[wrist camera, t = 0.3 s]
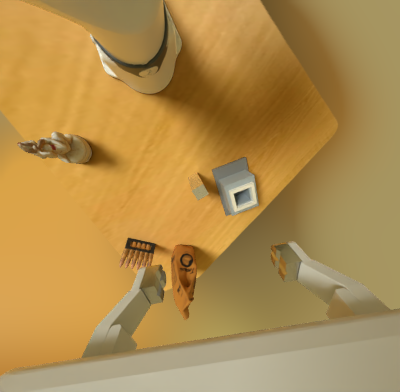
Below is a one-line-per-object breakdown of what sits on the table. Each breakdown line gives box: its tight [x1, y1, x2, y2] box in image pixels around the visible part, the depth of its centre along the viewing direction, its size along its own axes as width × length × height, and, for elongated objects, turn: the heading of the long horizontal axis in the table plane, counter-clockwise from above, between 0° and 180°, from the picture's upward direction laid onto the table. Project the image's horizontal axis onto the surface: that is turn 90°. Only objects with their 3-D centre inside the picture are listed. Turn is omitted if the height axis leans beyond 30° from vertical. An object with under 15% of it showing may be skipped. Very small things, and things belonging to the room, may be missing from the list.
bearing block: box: [212, 157, 259, 216], centre depth 50 cm, size 20×12×7 cm, turn 19°
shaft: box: [188, 173, 209, 200], centre depth 44 cm, size 4×4×11 cm
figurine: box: [18, 132, 92, 164], centre depth 32 cm, size 7×7×15 cm
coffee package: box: [171, 245, 197, 320], centre depth 54 cm, size 10×12×22 cm
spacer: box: [229, 182, 257, 212], centre depth 46 cm, size 8×8×1 cm
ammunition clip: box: [120, 238, 156, 270], centre depth 52 cm, size 11×2×12 cm, turn 64°
